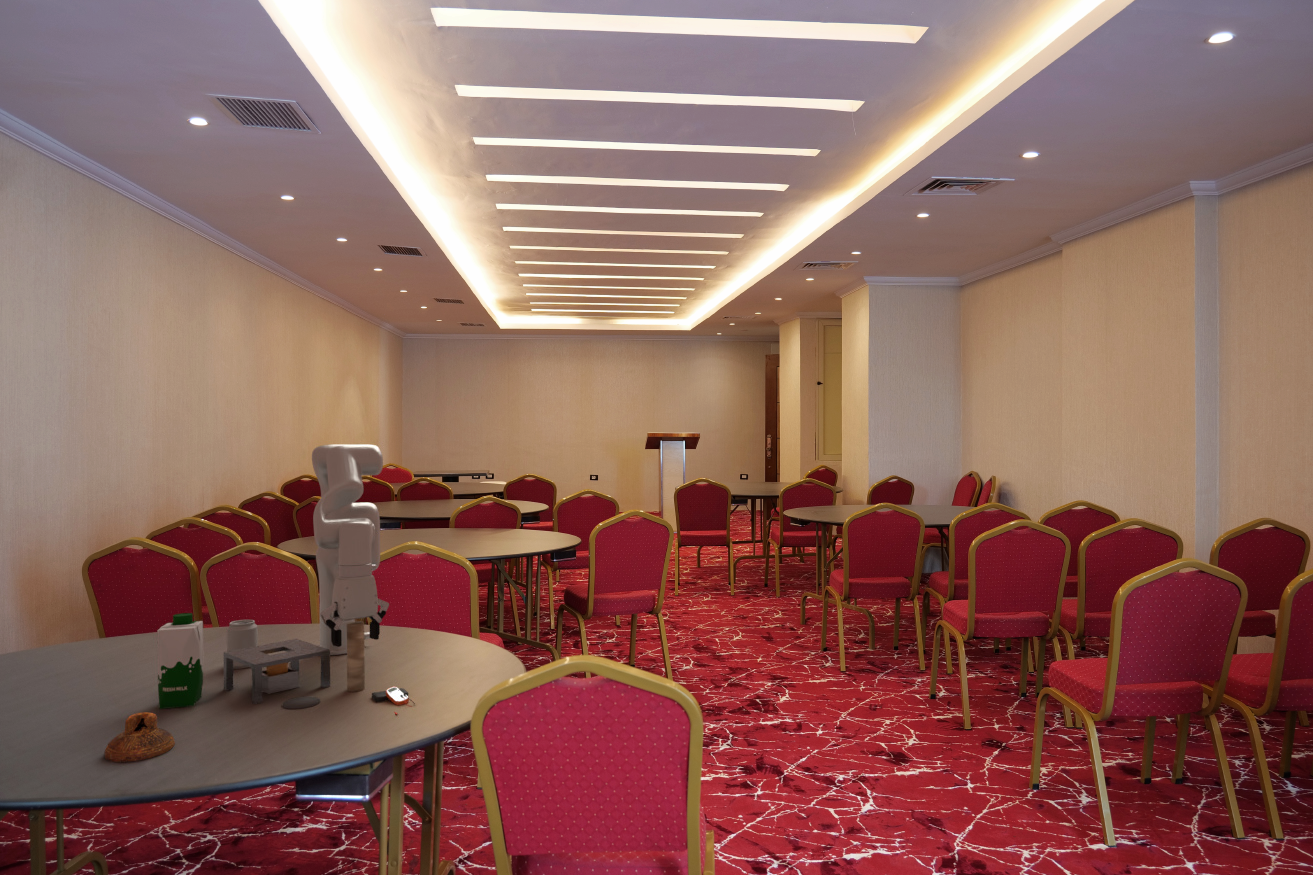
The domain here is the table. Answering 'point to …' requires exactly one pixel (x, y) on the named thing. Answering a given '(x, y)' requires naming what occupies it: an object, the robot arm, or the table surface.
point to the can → (241, 637)
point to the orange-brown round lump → (277, 669)
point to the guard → (260, 658)
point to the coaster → (300, 702)
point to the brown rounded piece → (139, 740)
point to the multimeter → (392, 696)
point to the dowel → (355, 656)
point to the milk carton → (180, 662)
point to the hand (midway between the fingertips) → (355, 642)
